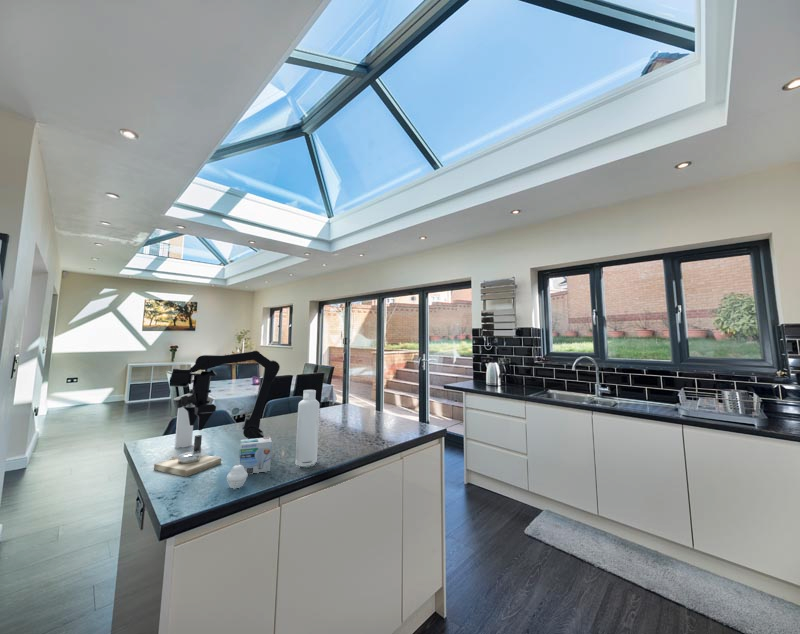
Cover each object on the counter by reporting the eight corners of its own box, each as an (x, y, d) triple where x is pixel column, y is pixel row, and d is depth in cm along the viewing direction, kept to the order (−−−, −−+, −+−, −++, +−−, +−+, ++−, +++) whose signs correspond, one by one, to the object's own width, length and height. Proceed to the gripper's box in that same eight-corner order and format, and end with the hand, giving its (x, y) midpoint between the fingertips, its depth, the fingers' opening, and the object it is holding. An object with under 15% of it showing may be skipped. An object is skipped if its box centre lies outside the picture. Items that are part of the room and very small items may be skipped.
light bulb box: (238, 476, 113) (240, 444, 114) (237, 469, 119) (239, 439, 120) (271, 471, 118) (272, 441, 119) (269, 465, 123) (270, 436, 124)
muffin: (244, 490, 102) (245, 467, 102) (222, 492, 101) (224, 468, 101) (249, 482, 108) (250, 460, 108) (229, 483, 107) (230, 461, 107)
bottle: (321, 462, 128) (324, 390, 131) (307, 469, 121) (310, 392, 123) (305, 459, 131) (308, 388, 134) (290, 465, 124) (294, 390, 127)
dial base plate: (220, 463, 125) (221, 457, 125) (186, 476, 111) (186, 470, 112) (189, 457, 130) (189, 452, 130) (152, 469, 117) (153, 463, 117)
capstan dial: (195, 463, 118) (196, 443, 119) (173, 464, 117) (175, 443, 117) (207, 452, 129) (209, 434, 130) (188, 453, 128) (189, 435, 129)
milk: (175, 448, 141) (179, 396, 142) (174, 445, 145) (178, 394, 147) (192, 446, 144) (195, 395, 146) (190, 442, 149) (194, 393, 151)
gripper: (169, 384, 128) (163, 425, 126) (185, 390, 116) (179, 436, 114) (201, 384, 136) (195, 422, 135) (219, 389, 124) (213, 431, 123)
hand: (195, 427), depth 126 cm, fingers open, 9 cm apart
